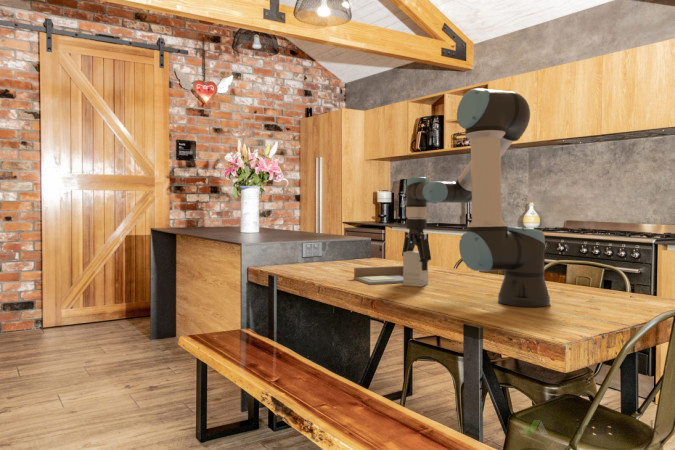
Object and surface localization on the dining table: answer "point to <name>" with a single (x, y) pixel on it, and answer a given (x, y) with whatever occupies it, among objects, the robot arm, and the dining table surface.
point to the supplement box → (412, 269)
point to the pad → (378, 278)
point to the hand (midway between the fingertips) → (415, 277)
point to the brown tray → (379, 274)
